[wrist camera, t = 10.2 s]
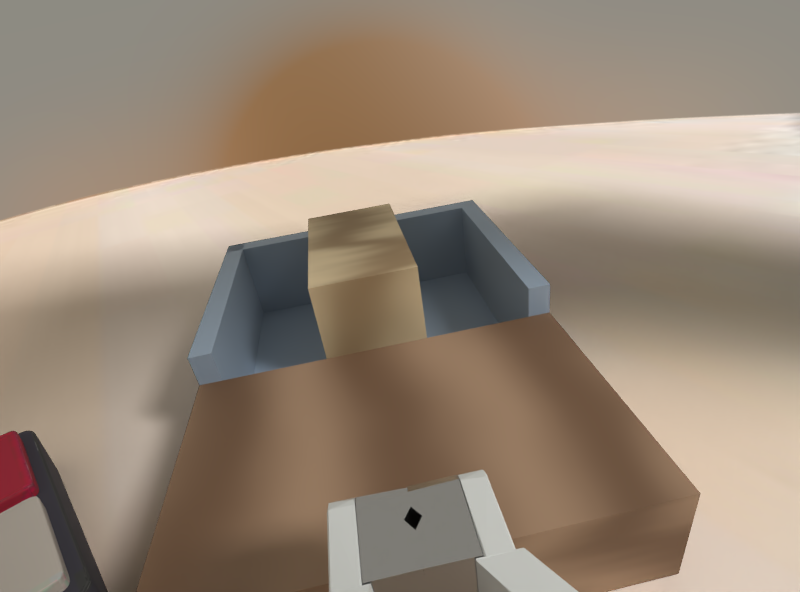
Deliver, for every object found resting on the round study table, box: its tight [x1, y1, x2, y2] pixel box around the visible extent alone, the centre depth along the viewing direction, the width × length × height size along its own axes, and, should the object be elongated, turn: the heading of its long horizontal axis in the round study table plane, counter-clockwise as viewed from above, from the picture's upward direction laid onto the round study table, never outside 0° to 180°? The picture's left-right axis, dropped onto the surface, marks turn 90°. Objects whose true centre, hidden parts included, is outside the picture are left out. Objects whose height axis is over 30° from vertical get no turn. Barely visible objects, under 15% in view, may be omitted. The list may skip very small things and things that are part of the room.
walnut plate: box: [136, 312, 700, 592], centre depth 18 cm, size 16×10×4 cm, turn 99°
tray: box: [187, 200, 550, 385], centre depth 27 cm, size 16×12×6 cm
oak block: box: [308, 204, 427, 359], centre depth 27 cm, size 5×6×9 cm
